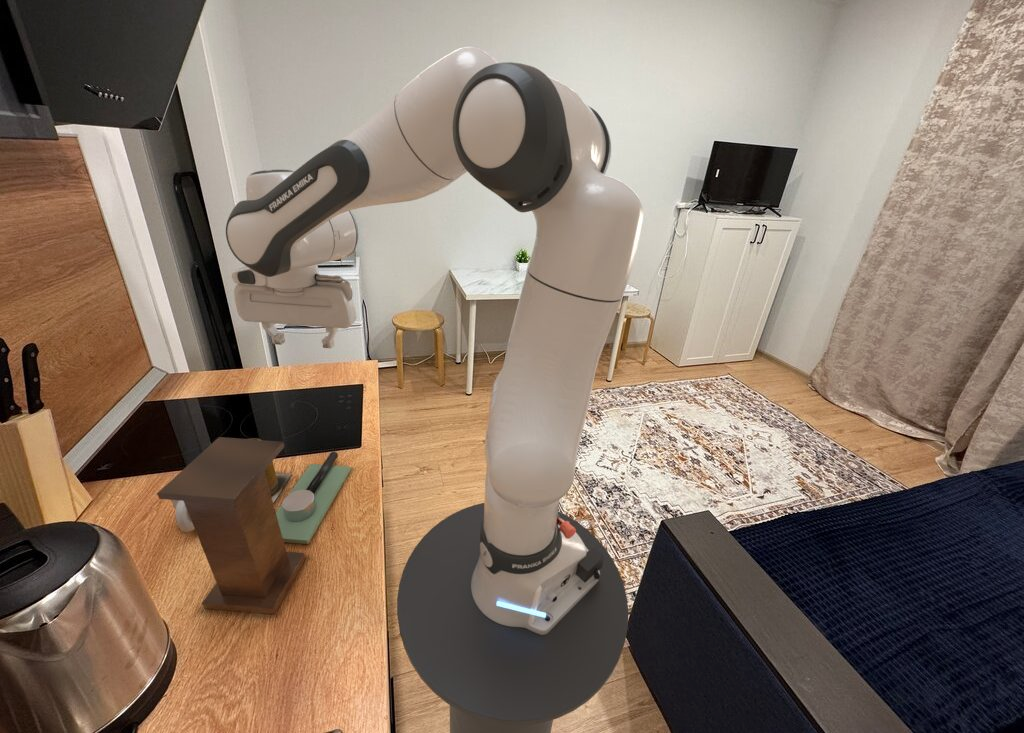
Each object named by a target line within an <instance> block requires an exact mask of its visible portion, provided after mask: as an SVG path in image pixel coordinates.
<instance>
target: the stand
mask: <svg viewBox="0 0 1024 733" xmlns="http://www.w3.org/2000/svg"><path fill="white" fill-rule="evenodd" d="M284 443H285V442H284V441H277V440H263V439H262V440H251V439H250V438H239V437H238V438H237V437H223V436H219V437H217V438H216V439H215V440H214V441H213V442H212V443H210V445H209V446H208V447H206V448H205V449H204V450H203V451H202V452H201V453H200V454H198V455H197V456H196V457H195V458H194V459H193V460H192V461H191V462H190V463H189V464H188V465H186V466H185V467H184V468H183V469H182V470H181V471H180V472H178V474H176V476H174V477H173V478H172V479H171V480H169V482H167V483H166V484H165V485H164V486H163V487H162V488H161V489H160V490H159V491H158V492H156V495H157V497H158V499H159V500H170V501H171V500H181V501H184V504H185V506H186V509H187V511H188V513H189V516H190V518H191V521H192V523H193V526H194V528H195V530H194V531H195V533H196V536H197V538H198V541H199V543H200V545H201V548H202V550H203V553H204V555H205V558H206V560H207V563H208V565H209V568H210V570H211V572H212V576H213V578H214V580H215V584H214V586H213V587H212V588H211V590H210V591H209V593H208V594H207V595H206V596H205V598H204V599H203V601H202V602H201V604H202V606H203V609H205V610H215V611H226V612H240V613H251V614H253V613H254V614H262V615H263V614H265V615H276V613H277V611H278V609H279V607H280V606H281V605H282V602H283V600H284V599H285V597H286V595H287V594H288V592H289V590H290V588H291V587H292V585H293V583H294V581H295V579H296V577H297V576H298V573H299V572H300V570H301V568H302V566H303V564H305V561H306V554H305V553H304V552H297V551H287V548H286V545H285V542H284V541H283V537H282V534H281V530H280V526H279V523H278V519H277V515H276V508H275V505H274V503H273V501H272V497H271V493H270V490H269V486H268V482H267V479H266V475H265V471H264V470H265V469H266V468H267V467H268V466H269V464H270V463H271V462H272V461H273V462H274V460H275V458H277V456H278V455H279V454H280V453H281V452H282V451H283V449H284V448H285V444H284Z"/></svg>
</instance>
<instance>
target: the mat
mask: <svg viewBox="0 0 1024 733" xmlns="http://www.w3.org/2000/svg"><path fill="white" fill-rule="evenodd" d="M322 465H323V464H317V463H310V464H309V465H308V467H307V468H306V469H305V471H304V472H303V474H302V475H301V476H300V478H299V479H298V480H297V482H296V483H295V485H294V486H293V488H291V489H290V490H291V491H289V493H288V495H289V494H290V493H292V492H295V491H298V490H306V489H307V487H308V486H309V484H310V483H311V481H312V480H313V478H314V477H315V475H316V474H317V473H318V471H319V470H320V468H321V467H322ZM351 470H352V469H351V466H346V465H345V466H343V465H334V464H333V465H332V467H331V468H330V470H329V471H328V473H327V474H326V476H325V478H324V479H323V481H322V482H321V484H320V485H319V487H318V489H317V490H316V492H315V493H314V498H315V503H316V510H315V512H314V513H313V514H312V515H311V516H310V517H309V518H307V519H305V520H302V521H298V522H292V521H289V520H287V519H286V518H285V515H284V512H283V508H282V503H281V504H280V506H279V507H278V509H277V510H275V512H276V515H277V519H278V523H279V526H280V530H281V534H282V537H283V541H284V543H286V544H287V543H288V544H289V543H290V544H300V545H309V544H310V542H311V540H312V539H313V537H314V535H315V534H316V532H317V530H318V528H319V526H320V525H321V523H322V521H323V520H324V518H325V515H326V514H327V512H328V511H329V509H330V507H331V505H332V504H333V502H334V500H335V498H336V497H337V495H338V493H339V491H340V490H341V488H342V486H343V485H344V483H345V481H346V479H347V478H348V476H349V475H350V473H351Z"/></svg>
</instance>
